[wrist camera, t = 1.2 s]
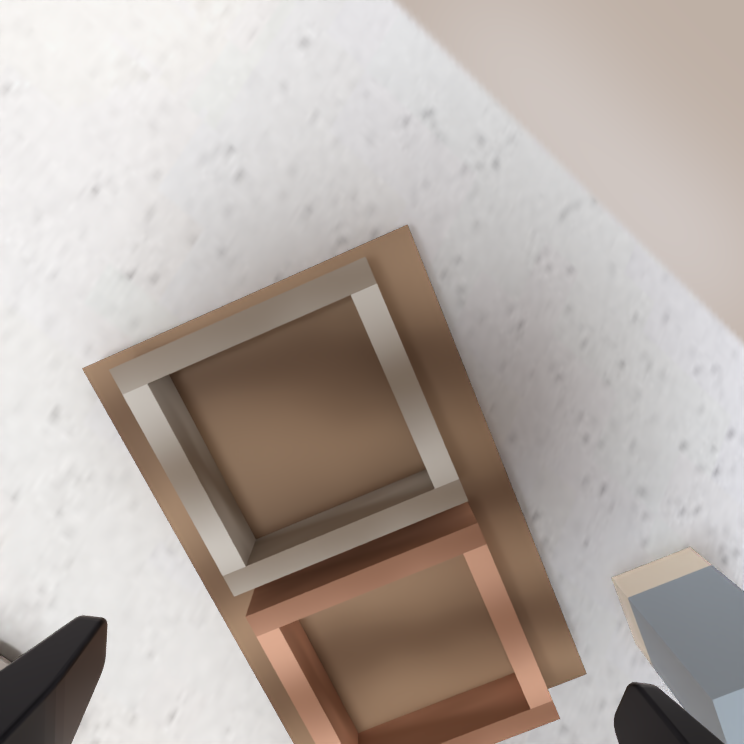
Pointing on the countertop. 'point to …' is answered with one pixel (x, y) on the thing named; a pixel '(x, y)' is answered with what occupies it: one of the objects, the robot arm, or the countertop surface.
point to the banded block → (691, 635)
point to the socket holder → (348, 505)
